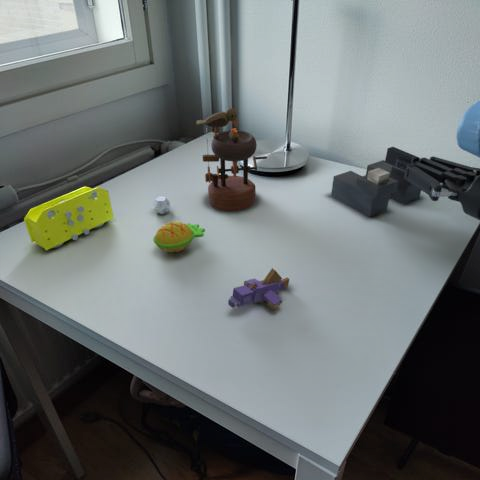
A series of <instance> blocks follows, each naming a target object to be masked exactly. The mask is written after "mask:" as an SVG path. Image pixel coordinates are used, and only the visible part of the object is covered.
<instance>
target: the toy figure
mask: <svg viewBox="0 0 480 480" xmlns="http://www.w3.org/2000/svg"><path fill="white" fill-rule="evenodd" d="M289 283H290V278H289V277H285V278H283V277H282V276H281V275H280V274H279V273H278V271H277V270H275V269H274V268H271V269H270V271H269V272H268V273H267V275H266V276H265V277H264V279H262V280H259V279H257V278H255V277H254V278H250V279H247V280H244V281H243V285H241V286H236V287H233V290H232V295H231V296H230V298H229V299H228V301H227V304H228V306H229V307H231V308H232V309H233V308H236V307H237V308H238V309H240V308H242V307H245V306H248V305H250V304H253V303H254V304H255V303H259V304H263V302H264V301H266V302H267V303H266V305H267V306H268V307H269V308H270V309H272V310H273V311H274V310H276V309H277V308H278V307H279V306H280V305H281V304H282V303H283V299H281V297H279V295H278V294H280V291H282V290H284V289H288V288H289V285H290V284H289Z"/></svg>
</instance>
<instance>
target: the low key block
mask: <svg viewBox="0 0 480 480" xmlns="http://www.w3.org/2000/svg"><path fill="white" fill-rule="evenodd" d="M377 168H380V169H382V170H385V171H387V172H389V173H390V174H389V177H391V178H393V179H395V180H397V181H398V185H397V189H396V192H393V193H391V194H390V198H389V199H392V200H394V201H396V202H398V203H400V204H402V205H405V204H408V203H411V202H413V201H416V200H418V199H420V197H421V193H422V190H420V189H419V188H417V187H416V186H414V185H413V184H412V183H410V182H409V181H407V180H406V179H404V177H405V173H406V171H404V170H402V169H399V168H397V167H395V166H393V165H391V164H388V163H386V162H385V159H382V160H379V161H376V162H373V163H370V164H367V166H366V171H365V175H368V171H371V170H374V169H377Z"/></svg>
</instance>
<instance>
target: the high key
mask: <svg viewBox="0 0 480 480" xmlns="http://www.w3.org/2000/svg"><path fill="white" fill-rule="evenodd" d="M389 174H390V173H389V172H387V171H385V170H382V169H380V168H377V169H374V170H371V171H368V177H367V180H369V181H371V182H373V183H375V184H377V185H379V184H382V183H385V182H387V181H388V178H389Z"/></svg>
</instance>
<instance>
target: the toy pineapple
mask: <svg viewBox="0 0 480 480" xmlns="http://www.w3.org/2000/svg"><path fill="white" fill-rule="evenodd" d="M205 232H206V229H205V227H200V224H199V223H196V224H191V223H182V222H181V221H170V222H167V223H164V225H161V227H159V228H158V230H157V231H156V232H155V235H154V236H153V239H152V240H153V243H154V244H155V245H156V246H157V247H158V248H159V249H160V250H161V251H163V252H166V253H175V252H176V253H179V252H182V251H183V250H184V249H186V248H188V247H189V245H191V243H192V242H193V240H194V239H195V238H202V237H204V236H205V234H204V233H205Z"/></svg>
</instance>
